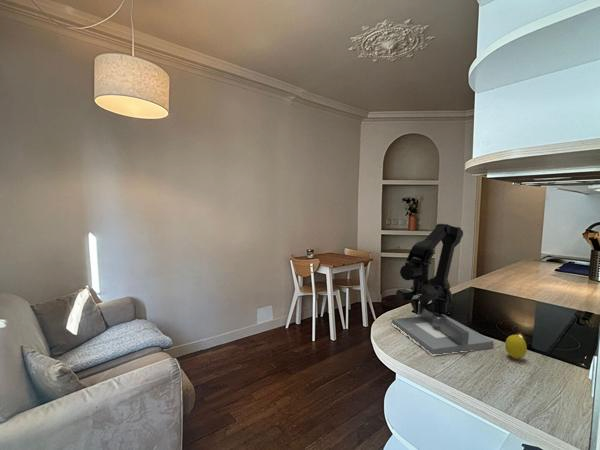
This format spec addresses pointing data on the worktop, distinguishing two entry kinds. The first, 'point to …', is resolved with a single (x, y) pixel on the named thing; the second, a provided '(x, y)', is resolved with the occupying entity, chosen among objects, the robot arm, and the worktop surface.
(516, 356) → the lemon
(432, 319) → the dark grey bar
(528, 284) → the worktop surface
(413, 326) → the cover plate
